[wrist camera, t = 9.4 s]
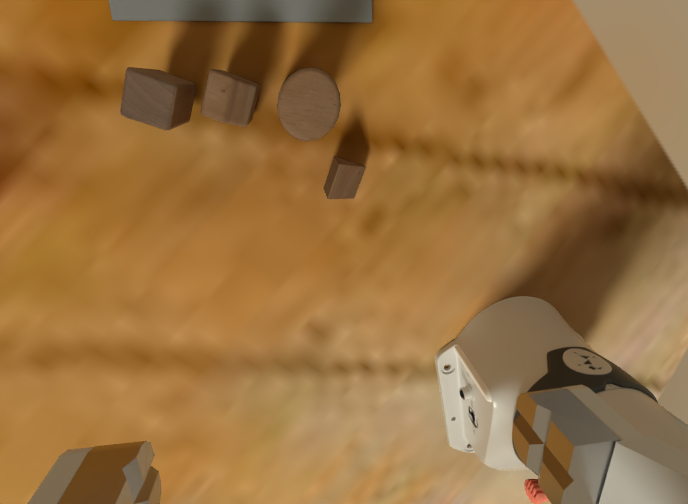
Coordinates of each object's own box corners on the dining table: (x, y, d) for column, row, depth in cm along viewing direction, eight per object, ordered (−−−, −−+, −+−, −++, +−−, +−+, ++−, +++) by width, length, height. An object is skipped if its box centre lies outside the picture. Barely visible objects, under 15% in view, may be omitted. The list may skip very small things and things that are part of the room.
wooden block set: (151, 129, 32) (97, 149, 22) (170, 17, 29) (116, -15, 19) (350, 193, 36) (373, 231, 27) (384, 102, 33) (423, 110, 24)
